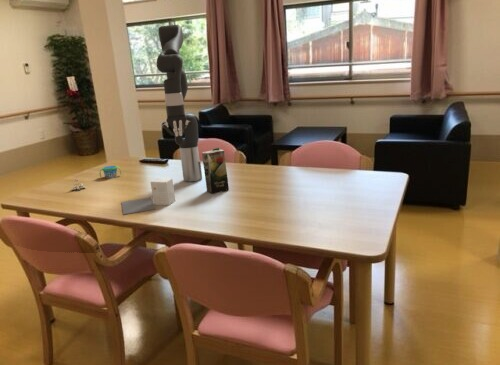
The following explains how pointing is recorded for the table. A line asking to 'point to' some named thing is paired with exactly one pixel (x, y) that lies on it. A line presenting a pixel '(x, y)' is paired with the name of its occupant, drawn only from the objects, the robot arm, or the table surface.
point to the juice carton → (215, 171)
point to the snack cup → (110, 171)
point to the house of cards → (77, 184)
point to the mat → (137, 206)
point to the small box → (163, 191)
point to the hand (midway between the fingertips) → (179, 144)
